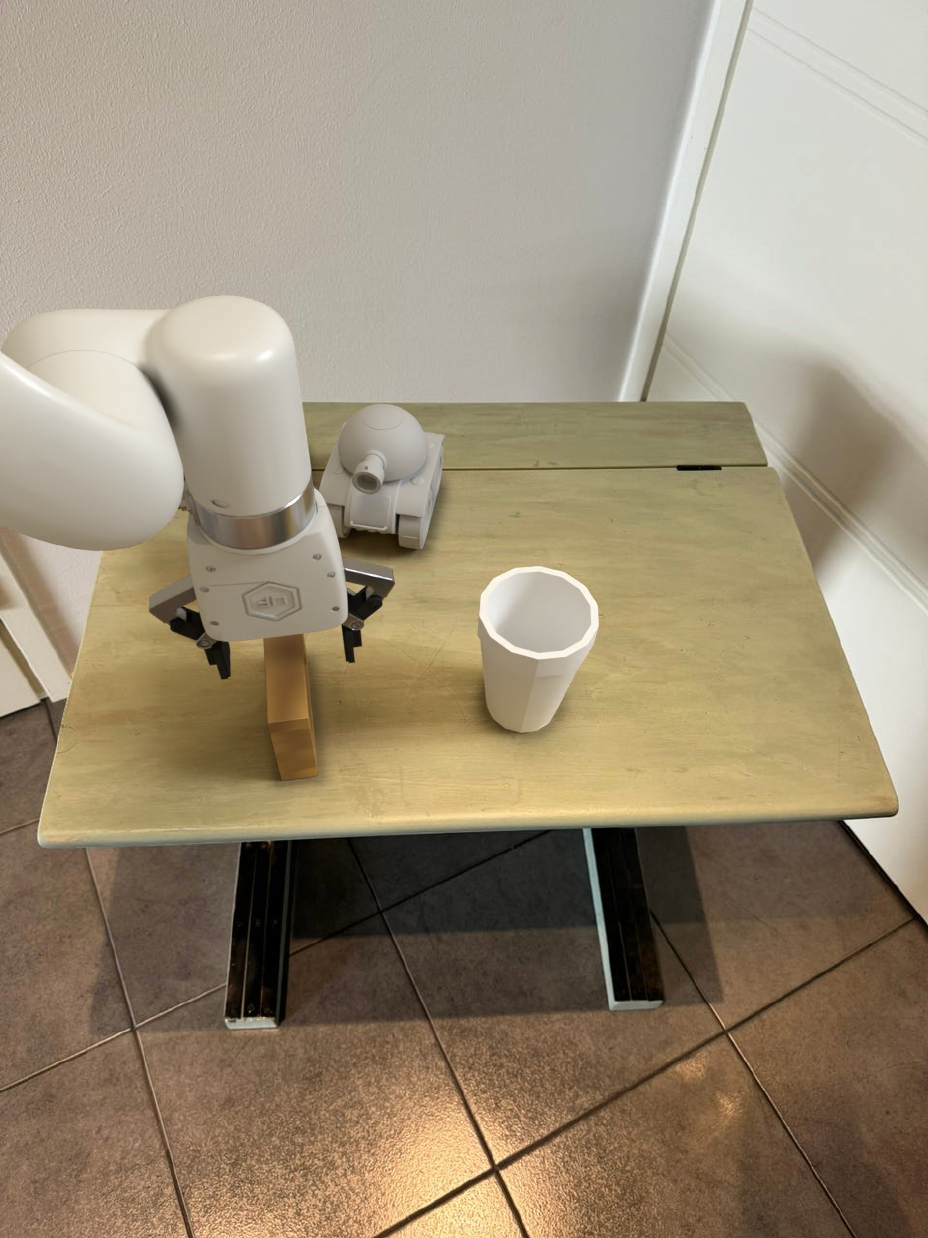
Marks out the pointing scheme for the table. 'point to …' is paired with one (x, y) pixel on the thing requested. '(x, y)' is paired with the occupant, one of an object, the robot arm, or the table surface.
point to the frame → (290, 706)
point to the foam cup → (533, 643)
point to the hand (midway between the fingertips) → (288, 656)
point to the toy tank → (383, 475)
